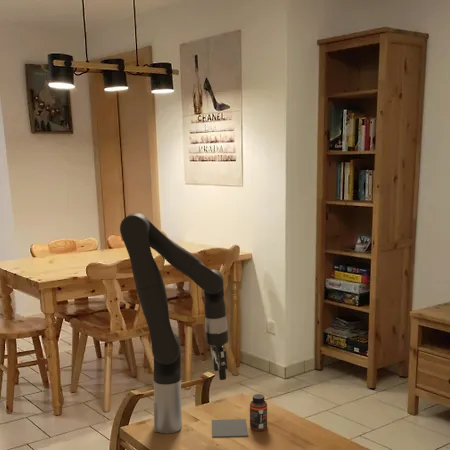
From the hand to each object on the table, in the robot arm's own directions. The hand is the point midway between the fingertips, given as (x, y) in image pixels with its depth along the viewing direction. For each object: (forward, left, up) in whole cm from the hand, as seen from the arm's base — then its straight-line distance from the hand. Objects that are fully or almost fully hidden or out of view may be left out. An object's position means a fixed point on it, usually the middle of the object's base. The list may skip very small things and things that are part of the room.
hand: (220, 374), depth 192 cm
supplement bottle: (+13, -2, -19) cm, 23 cm away
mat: (+3, -2, -19) cm, 19 cm away
